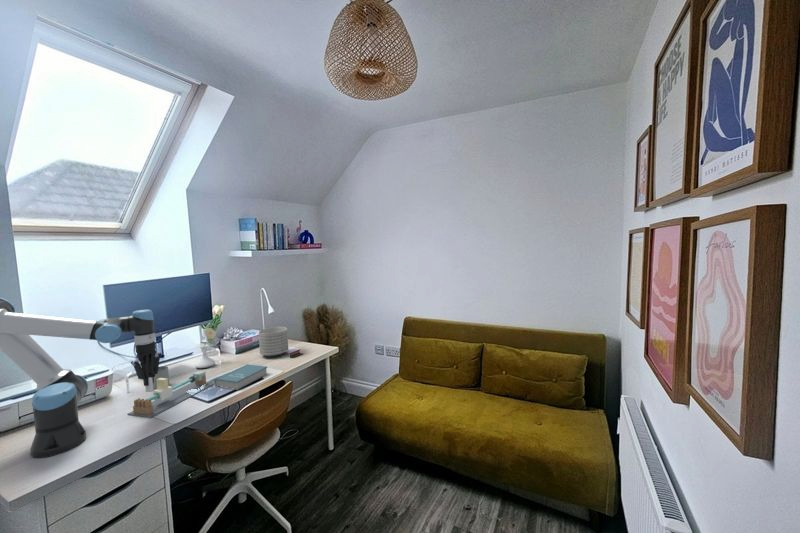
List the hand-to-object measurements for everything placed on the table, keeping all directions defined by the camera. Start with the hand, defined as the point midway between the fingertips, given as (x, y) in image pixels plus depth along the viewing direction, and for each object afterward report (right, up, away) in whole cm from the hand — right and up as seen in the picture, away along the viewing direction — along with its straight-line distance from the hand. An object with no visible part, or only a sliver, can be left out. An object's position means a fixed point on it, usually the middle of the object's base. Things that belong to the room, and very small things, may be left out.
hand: (149, 391), depth 153 cm
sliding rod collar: (+2, -6, +7) cm, 9 cm away
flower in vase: (-8, -6, +58) cm, 59 cm away
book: (+28, -7, +34) cm, 45 cm away
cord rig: (+3, -9, +13) cm, 16 cm away
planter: (+30, -4, +77) cm, 82 cm away
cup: (-16, -8, +28) cm, 34 cm away
